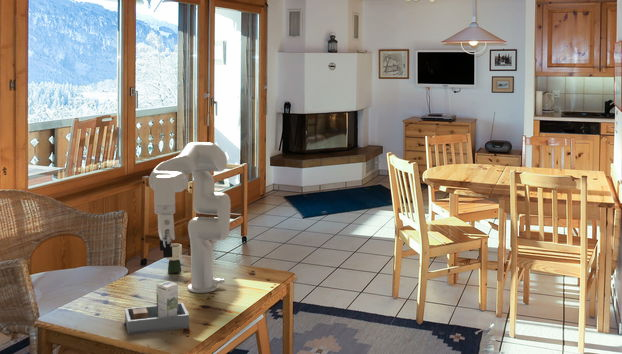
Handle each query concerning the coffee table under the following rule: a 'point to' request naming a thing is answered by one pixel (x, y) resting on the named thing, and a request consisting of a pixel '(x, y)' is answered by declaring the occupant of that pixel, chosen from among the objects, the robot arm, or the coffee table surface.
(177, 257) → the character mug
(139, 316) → the walnut cube
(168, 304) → the syrup box
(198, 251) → the robot arm
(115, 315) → the coffee table surface
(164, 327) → the tote
